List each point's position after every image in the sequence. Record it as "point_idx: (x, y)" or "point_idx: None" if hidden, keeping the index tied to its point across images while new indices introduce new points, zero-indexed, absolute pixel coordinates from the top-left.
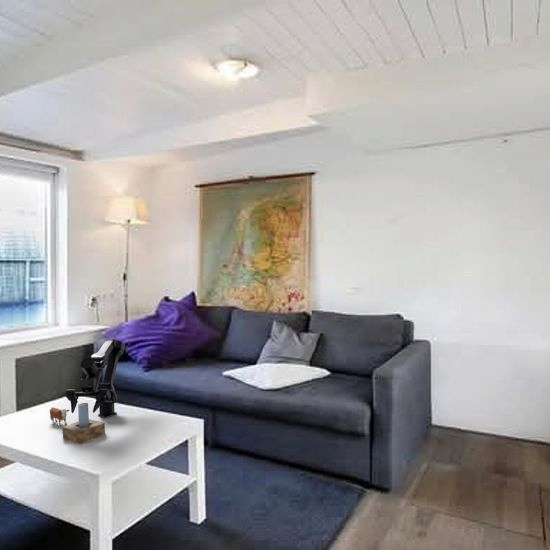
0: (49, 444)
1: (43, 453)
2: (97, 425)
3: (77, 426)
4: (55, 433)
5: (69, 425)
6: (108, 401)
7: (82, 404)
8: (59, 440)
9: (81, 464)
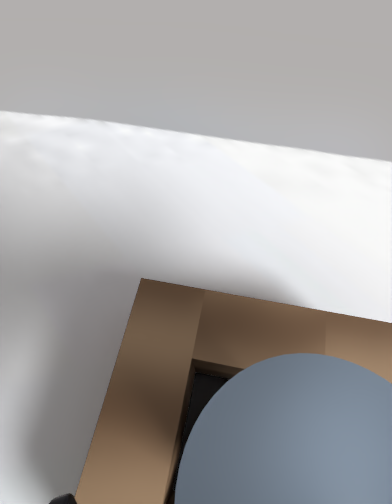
0: (348, 250)
1: (268, 162)
2: (82, 476)
3: None
4: None
5: None
6: None
7: (334, 488)
8: None
9: (14, 130)
